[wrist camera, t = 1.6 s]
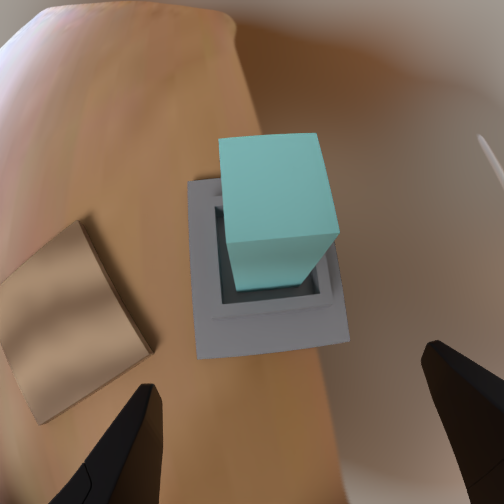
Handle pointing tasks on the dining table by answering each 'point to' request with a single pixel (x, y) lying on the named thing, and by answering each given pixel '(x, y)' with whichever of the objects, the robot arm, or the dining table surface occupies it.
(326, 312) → the case base
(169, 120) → the dining table surface
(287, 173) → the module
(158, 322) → the dining table surface
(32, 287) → the board
